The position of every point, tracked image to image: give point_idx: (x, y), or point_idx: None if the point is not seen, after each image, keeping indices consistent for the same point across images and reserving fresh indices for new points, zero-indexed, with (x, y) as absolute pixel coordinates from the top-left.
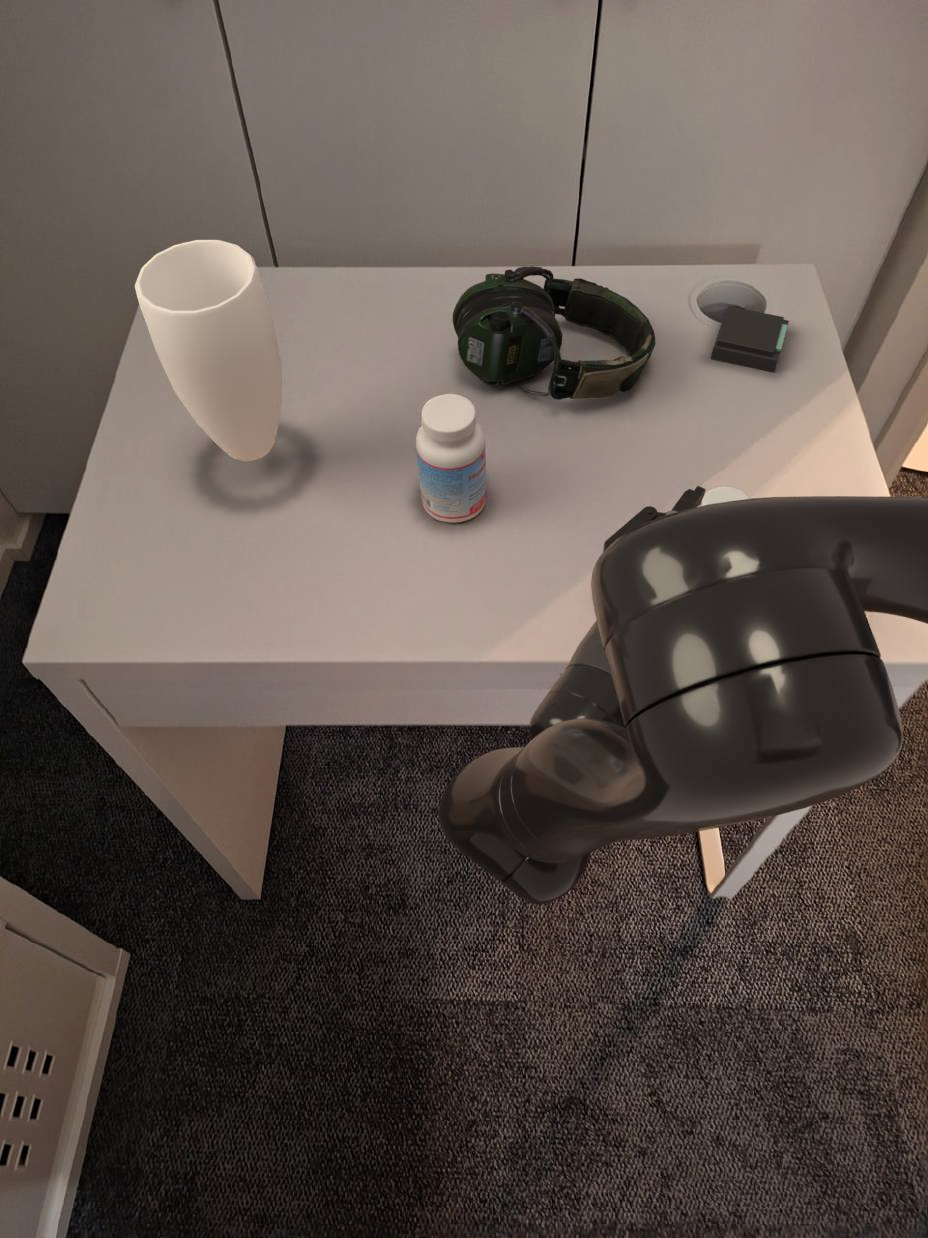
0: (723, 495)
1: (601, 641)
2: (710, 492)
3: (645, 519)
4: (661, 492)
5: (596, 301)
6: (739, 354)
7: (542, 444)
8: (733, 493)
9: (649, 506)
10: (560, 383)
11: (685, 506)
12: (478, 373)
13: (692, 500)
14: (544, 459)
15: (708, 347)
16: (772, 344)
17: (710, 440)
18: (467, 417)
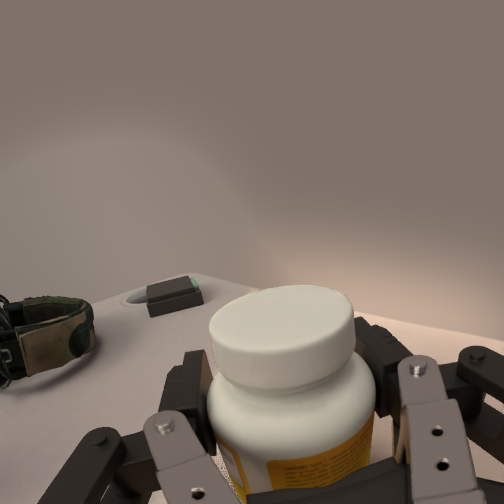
0: (252, 306)
1: None
2: (218, 316)
3: (93, 465)
4: None
5: (43, 308)
6: (169, 301)
7: (11, 429)
8: (268, 294)
9: (96, 429)
10: (8, 360)
11: (183, 391)
12: None
13: (191, 375)
14: (12, 443)
15: (145, 313)
16: (190, 285)
17: (183, 358)
18: None
